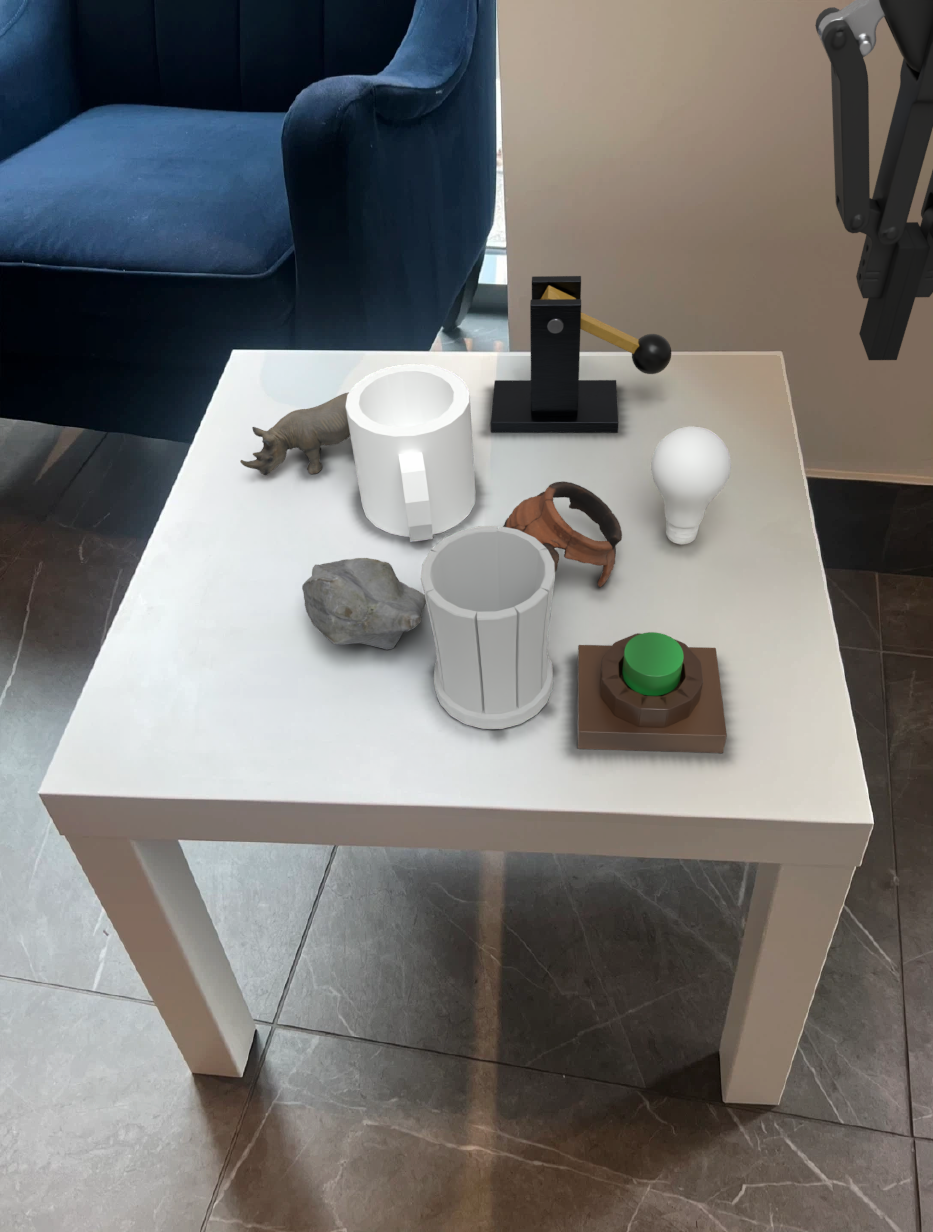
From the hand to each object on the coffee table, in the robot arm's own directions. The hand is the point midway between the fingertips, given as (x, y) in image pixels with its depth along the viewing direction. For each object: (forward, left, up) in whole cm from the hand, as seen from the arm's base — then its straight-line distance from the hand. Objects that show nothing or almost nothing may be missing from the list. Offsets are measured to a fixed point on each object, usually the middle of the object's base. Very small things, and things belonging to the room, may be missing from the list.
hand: (877, 346), depth 56 cm
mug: (+34, -4, -27) cm, 43 cm away
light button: (+8, +9, -23) cm, 26 cm away
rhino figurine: (+46, -6, -27) cm, 53 cm away
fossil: (+30, +11, -27) cm, 41 cm away
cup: (+20, +11, -27) cm, 35 cm away
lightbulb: (+12, -9, -27) cm, 30 cm away
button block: (+8, +9, -26) cm, 29 cm away
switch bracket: (+28, -22, -26) cm, 45 cm away
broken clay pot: (+20, -1, -27) cm, 33 cm away
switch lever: (+25, -23, -19) cm, 39 cm away
